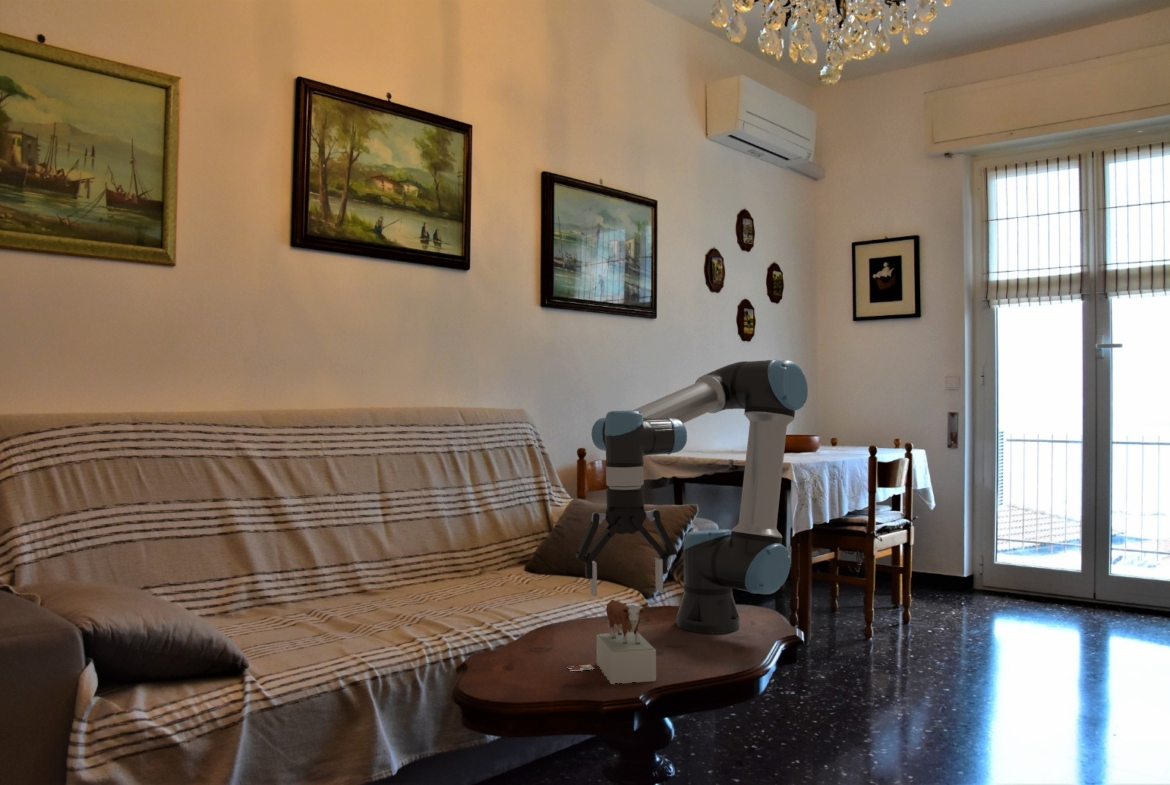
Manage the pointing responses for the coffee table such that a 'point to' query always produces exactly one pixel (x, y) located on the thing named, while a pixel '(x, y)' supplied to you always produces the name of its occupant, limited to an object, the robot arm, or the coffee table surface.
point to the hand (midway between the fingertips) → (626, 592)
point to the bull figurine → (623, 619)
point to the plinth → (626, 658)
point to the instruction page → (583, 668)
